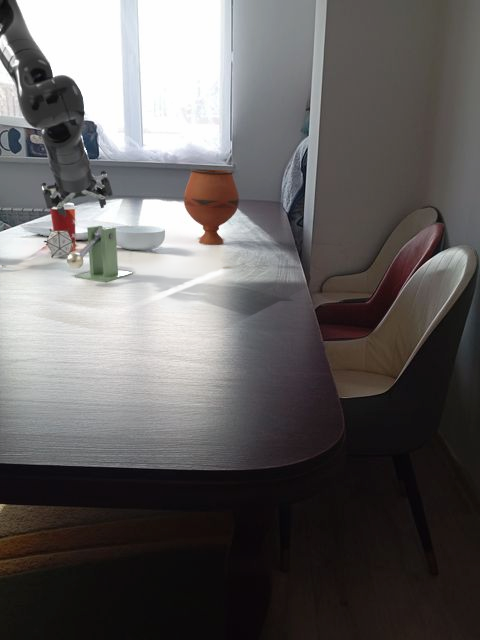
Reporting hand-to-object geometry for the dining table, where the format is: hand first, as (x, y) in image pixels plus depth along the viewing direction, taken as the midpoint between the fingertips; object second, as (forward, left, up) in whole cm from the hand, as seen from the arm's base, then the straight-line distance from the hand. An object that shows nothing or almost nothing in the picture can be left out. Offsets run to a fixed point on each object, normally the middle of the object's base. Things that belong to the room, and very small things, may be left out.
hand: (82, 208), depth 118 cm
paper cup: (-14, +41, -18) cm, 47 cm away
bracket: (+3, +4, -18) cm, 18 cm away
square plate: (-16, +70, -18) cm, 74 cm away
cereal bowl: (+8, +43, -18) cm, 47 cm away
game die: (-13, +30, -18) cm, 37 cm away
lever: (+1, 0, -10) cm, 11 cm away
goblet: (+32, +62, -18) cm, 72 cm away
